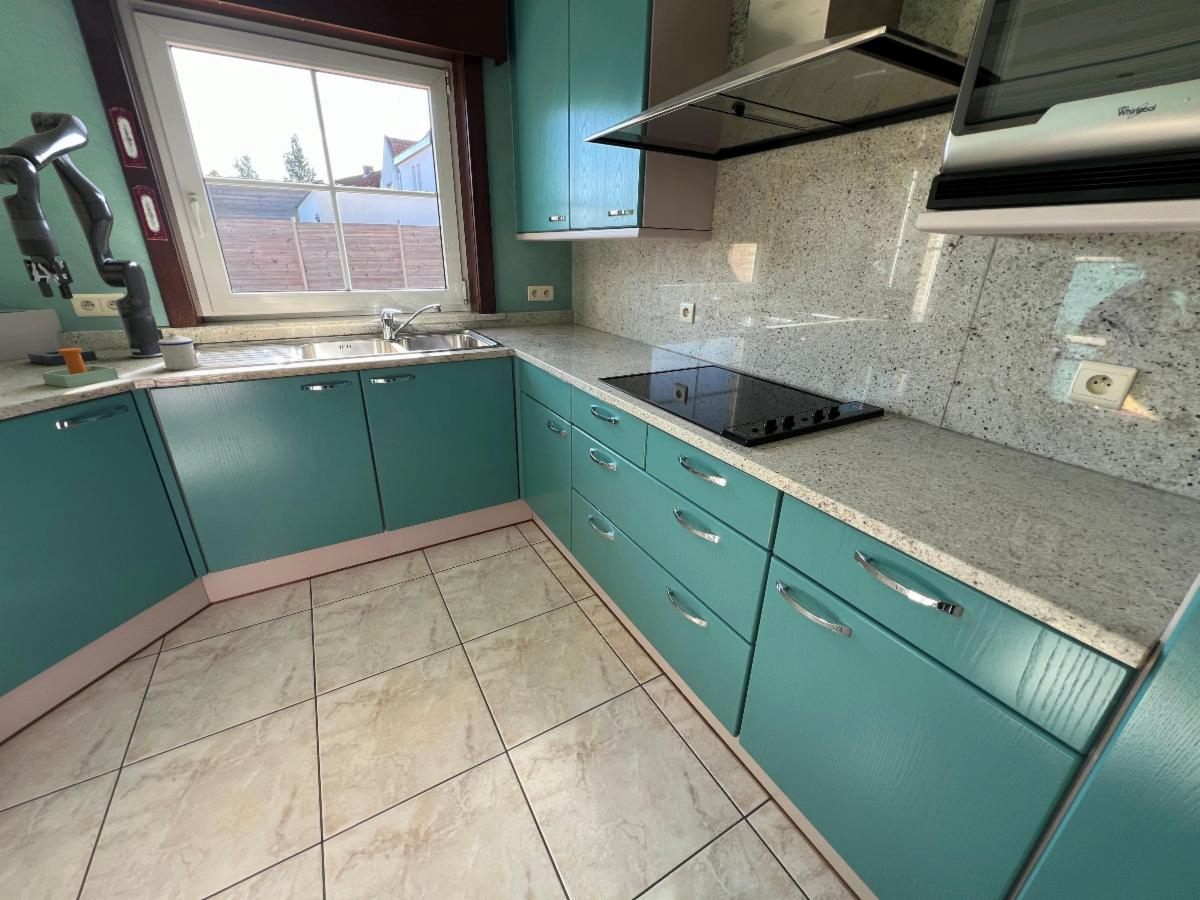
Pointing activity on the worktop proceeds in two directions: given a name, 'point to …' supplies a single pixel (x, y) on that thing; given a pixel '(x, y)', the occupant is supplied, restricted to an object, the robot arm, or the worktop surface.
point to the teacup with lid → (178, 352)
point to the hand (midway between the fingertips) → (58, 297)
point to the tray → (80, 376)
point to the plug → (73, 360)
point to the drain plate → (58, 357)
